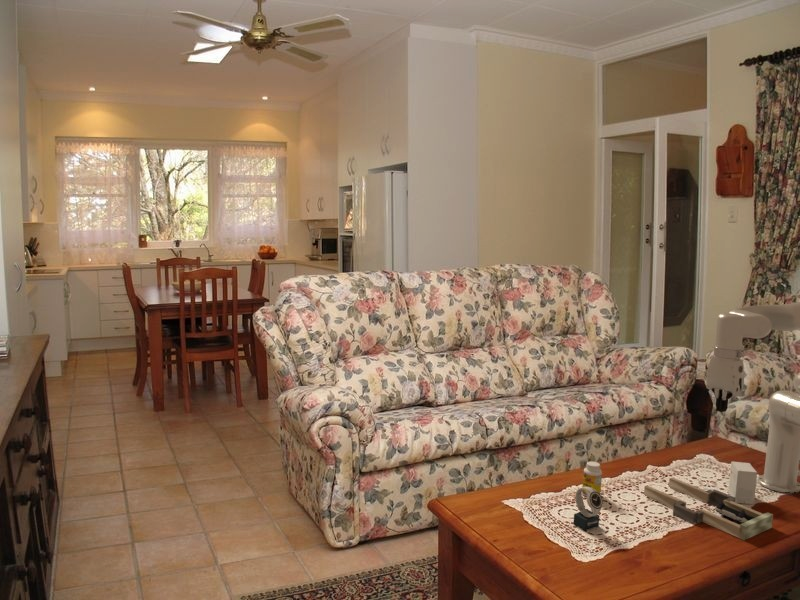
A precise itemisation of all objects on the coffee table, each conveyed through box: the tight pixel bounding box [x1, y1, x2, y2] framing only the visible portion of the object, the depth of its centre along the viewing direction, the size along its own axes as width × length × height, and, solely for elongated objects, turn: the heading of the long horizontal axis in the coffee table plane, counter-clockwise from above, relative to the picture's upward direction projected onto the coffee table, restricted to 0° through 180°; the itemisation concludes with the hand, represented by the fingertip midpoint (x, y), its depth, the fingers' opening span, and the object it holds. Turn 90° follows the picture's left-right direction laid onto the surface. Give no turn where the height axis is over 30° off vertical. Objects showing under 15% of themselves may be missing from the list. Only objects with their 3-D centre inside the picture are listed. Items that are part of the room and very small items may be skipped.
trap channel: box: [643, 477, 774, 541], centre depth 208 cm, size 21×33×4 cm, turn 34°
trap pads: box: [706, 500, 719, 507], centre depth 209 cm, size 18×5×1 cm, turn 124°
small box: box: [727, 461, 758, 505], centre depth 217 cm, size 8×6×10 cm
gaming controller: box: [715, 501, 755, 525], centre depth 203 cm, size 11×4×7 cm
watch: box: [573, 487, 604, 532], centre depth 197 cm, size 6×8×11 cm
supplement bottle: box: [581, 461, 603, 498], centre depth 217 cm, size 6×6×10 cm
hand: (721, 410), depth 217 cm, fingers closed
